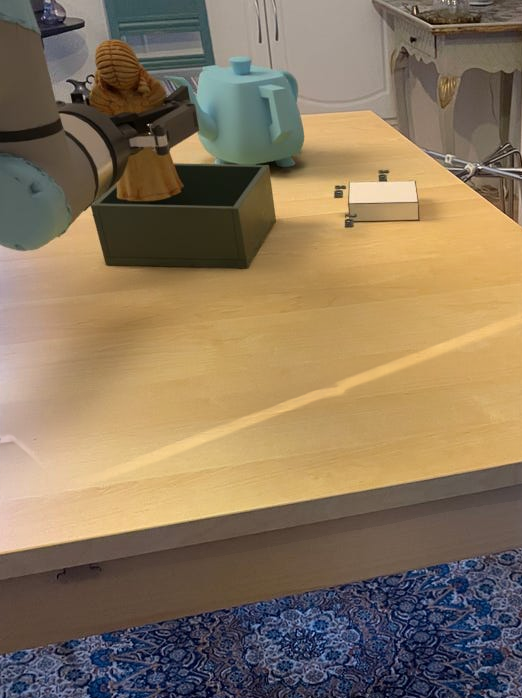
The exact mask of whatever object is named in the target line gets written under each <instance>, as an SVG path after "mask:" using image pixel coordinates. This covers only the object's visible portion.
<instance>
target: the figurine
mask: <svg viewBox="0 0 522 698" xmlns="http://www.w3.org/2000/svg"><path fill="white" fill-rule="evenodd" d="M94 61H95V67H96V71H94V77H93V81H94V83H93V84H94V85H92V86H91V88H90V92H89V95H88V96H89V102H90V105H91V106H92V107H93V108H95V109H97V110H99V111H101V112H102V113H103V114H105V115H106V114H108V115H116V114H119V113H122V112H132V113H136V114H137V113H140V112H143V111H146V110H149V109H152V108H155V107H158V106H161V105H164V101H163V100H164V99H165V98H166V97H168V93H167V90H166V88H165V87H164V85H163V84H162V83H160V81H159V80H158V79H157V78H156V77H152V75H151V74H150V73H149V72H148V71H147V70H146V69H145V67H144V65H142V64H141V63H140V62H139V59H138V57H137V54H136V52H135V51H134V49H133V48H132V47H131V46H130V44H129V43H127V42H126V41H123V40H121V39H110V40H109V39H108V40H104V41H103V42H101V43H100V44H99V45H98V46H97V47H96V49H95V53H94ZM172 157H173V156H172V154H171V152H169V154H166V155H164V156H161V155H158V154H157V153H156V151H152V147H144V149H143V150H142V151H139V152H138V153H137V154H134V155H131V156H129V158H128V162H127V165H126V169H125V172H124V174H123V176H122V177H121V179H120V180H119V181H118V182H117V198H118V199H127V200H129V201H146V202H147V201H155V200H161V199H165V198H169V197H171V196H173V195H176V194H178V193H180V192H181V188H183V187H184V185H183V184H182V183H181V181H180V179H179V177H178V175H177V172H176V169H175V166H174V163H175V162H174V160H173V158H172Z"/></svg>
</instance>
